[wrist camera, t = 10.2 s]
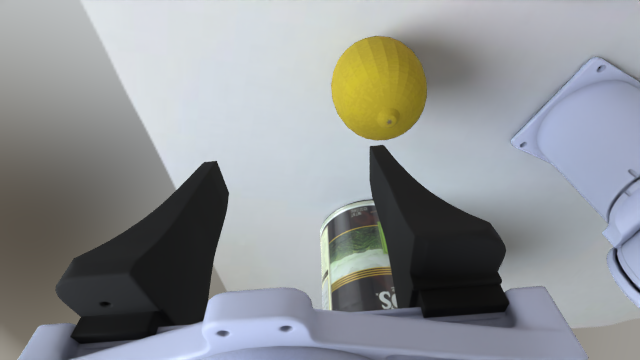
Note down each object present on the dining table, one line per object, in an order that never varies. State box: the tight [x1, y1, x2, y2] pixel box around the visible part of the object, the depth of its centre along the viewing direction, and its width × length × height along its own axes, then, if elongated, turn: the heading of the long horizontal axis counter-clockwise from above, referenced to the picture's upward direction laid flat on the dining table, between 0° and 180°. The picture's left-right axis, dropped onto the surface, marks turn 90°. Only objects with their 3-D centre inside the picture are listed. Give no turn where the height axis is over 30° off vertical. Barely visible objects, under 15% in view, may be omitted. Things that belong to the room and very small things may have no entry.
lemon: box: [331, 36, 427, 140], centre depth 20 cm, size 6×6×8 cm
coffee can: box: [320, 200, 398, 312], centre depth 29 cm, size 10×10×14 cm
